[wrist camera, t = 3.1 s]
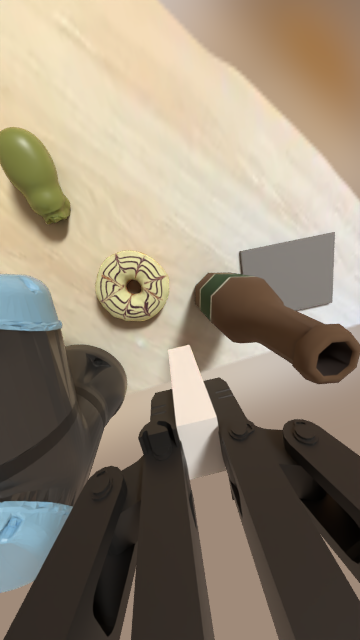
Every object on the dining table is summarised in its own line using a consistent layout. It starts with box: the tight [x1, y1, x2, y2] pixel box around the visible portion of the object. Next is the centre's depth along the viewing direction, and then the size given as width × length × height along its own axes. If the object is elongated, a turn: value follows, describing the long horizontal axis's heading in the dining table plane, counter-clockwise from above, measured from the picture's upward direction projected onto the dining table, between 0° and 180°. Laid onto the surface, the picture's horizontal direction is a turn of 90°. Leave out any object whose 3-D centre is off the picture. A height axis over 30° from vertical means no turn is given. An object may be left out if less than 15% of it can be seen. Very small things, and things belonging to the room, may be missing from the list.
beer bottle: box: [195, 273, 360, 384], centre depth 22 cm, size 8×8×24 cm
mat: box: [240, 232, 335, 311], centre depth 34 cm, size 16×12×1 cm
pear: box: [0, 127, 70, 224], centre depth 25 cm, size 6×5×10 cm
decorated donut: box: [95, 250, 169, 321], centre depth 30 cm, size 10×11×4 cm
